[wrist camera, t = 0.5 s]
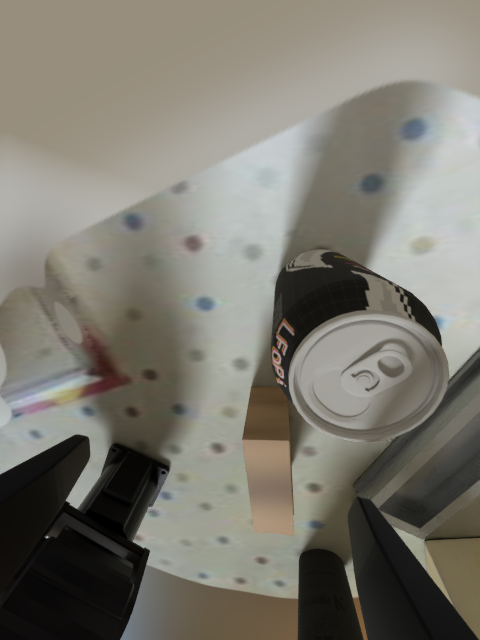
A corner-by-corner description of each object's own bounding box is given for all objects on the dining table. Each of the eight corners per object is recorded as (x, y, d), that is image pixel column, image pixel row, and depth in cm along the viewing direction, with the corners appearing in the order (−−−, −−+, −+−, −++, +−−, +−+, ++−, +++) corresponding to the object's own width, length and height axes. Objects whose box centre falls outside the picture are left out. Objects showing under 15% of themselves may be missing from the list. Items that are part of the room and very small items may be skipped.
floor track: (417, 519, 25) (427, 541, 23) (349, 488, 25) (355, 508, 23) (572, 387, 19) (602, 404, 17) (483, 345, 19) (504, 358, 17)
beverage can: (374, 289, 18) (520, 395, 7) (311, 340, 20) (348, 483, 9) (320, 229, 18) (390, 244, 6) (258, 288, 20) (231, 377, 8)
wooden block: (291, 466, 25) (294, 535, 20) (259, 464, 26) (253, 531, 20) (287, 385, 22) (289, 440, 17) (250, 386, 23) (241, 439, 17)
